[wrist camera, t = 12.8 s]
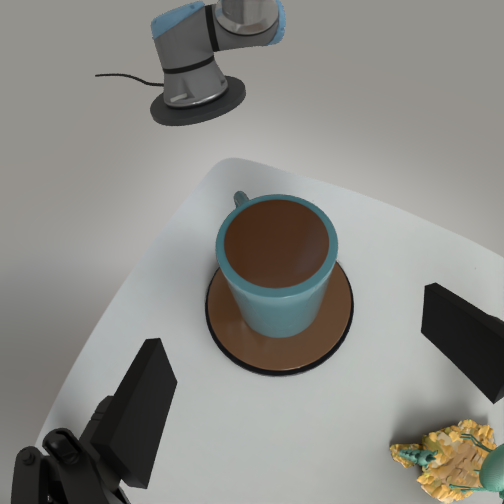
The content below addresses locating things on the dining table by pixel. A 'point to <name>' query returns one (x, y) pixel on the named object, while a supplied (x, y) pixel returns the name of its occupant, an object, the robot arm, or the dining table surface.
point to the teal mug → (278, 283)
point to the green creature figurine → (456, 461)
